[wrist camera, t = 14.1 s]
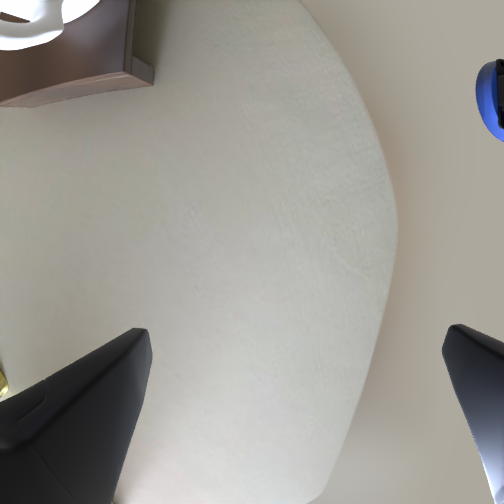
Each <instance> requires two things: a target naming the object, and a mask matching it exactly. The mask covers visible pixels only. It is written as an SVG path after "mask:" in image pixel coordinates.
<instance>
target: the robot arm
mask: <svg viewBox="0 0 504 504" xmlns="http://www.w3.org/2000/svg"><path fill="white" fill-rule="evenodd" d="M500 63H501V65H500ZM496 76H497V97H498V126H499V128H500V129H503V130H504V60H502V59H497V60H496ZM502 122H503V124H502ZM442 355H443V358H444V361H445V364H446V366H447V369H448V372H449V375H450V378H451V381H452V385H453V388H454V390H455V393H456V395H457V398H458V400H459V403H460V405H461V408H462V410H463V412H464V415H465V417H466V420H467V422H468V425H469V427H470V430H471V433H472V435H473V438H474V441H475V443H476V446H477V449H478V452H479V454H480V457H481V460H482V463H483V466H484V469H485V472H486V475H487V478H488V481H489V485H490V488H491V491H492V495H493V497H494V502H495V504H504V343H503V342H501V341H499V340H497V339H494V338H492V337H490V336H488V335H485V334H483V333H481V332H479V331H476V330H474V329H471V328H470V327H467V326H465V325H463V324H456V325H451V326H450V327H449V329H448V332H447V335H446V338H445V340H444V343H443V346H442ZM151 363H152V348H151V343H150V337H149V333H148V330H147V329H143V328H132V329H130V330H129V331H127V332H125V333H123V334H122V335H120V336H118V337H117V338H115V339H113V340H111V341H110V342H108V343H106V344H105V345H103V346H101V347H99V348H98V349H96V350H94V351H92V352H91V353H89V354H87V355H85V356H84V357H82V358H80V359H79V360H77V361H75V362H73V363H72V364H70V365H68V366H66V367H65V368H63V369H61V370H59V371H58V372H56V373H54V374H52V375H51V376H49V377H47V378H46V379H45V380H42V381H40V382H39V383H37V384H35V385H33V386H31V387H30V388H28V389H26V390H24V391H22V392H20V393H18V394H16V395H14V396H12V397H10V398H8V399H6V400H4V401H2V402H0V504H112V500H113V497H114V493H115V490H116V486H117V483H118V480H119V476H120V473H121V470H122V467H123V463H124V460H125V457H126V454H127V451H128V448H129V444H130V441H131V438H132V435H133V432H134V429H135V426H136V423H137V420H138V417H139V414H140V411H141V408H142V405H143V401H144V396H145V391H146V386H147V382H148V377H149V372H150V368H151Z"/></svg>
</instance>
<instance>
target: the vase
mask: <svg viewBox="0 0 504 504" xmlns="http://www.w3.org/2000/svg"><path fill="white" fill-rule="evenodd" d="M7 390H8V385H7V381H6V379H5V377H4V375H3V373H2V372H1V370H0V398H1V397H2V396H3V395H4V394H5V393H6V392H7Z"/></svg>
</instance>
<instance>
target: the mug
mask: <svg viewBox="0 0 504 504" xmlns="http://www.w3.org/2000/svg"><path fill="white" fill-rule="evenodd" d="M99 1H100V0H0V11H2V12H5V13H8V14H11V15H14V16H17V17H21V18H24V19H27V20H30V22H29V23H12V22H7V21H3V20H0V49H1V50H16V49H22V48H26V47H30V46H34V45H37V44H41V43H45V42H48V41H50V40H52V39H53V38H55V37H56V36H58V35H59V34H60V33H62V31H63V29H64V23H67V22H69V21H72V20H74V19H76V18H78V17H79V16H81V15H83V14H84V13H86V12H87V11H88V10H90V9H91V8H92V7H93V6H95V5H96V4H97V3H98V2H99Z"/></svg>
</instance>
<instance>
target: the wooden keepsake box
mask: <svg viewBox="0 0 504 504" xmlns="http://www.w3.org/2000/svg"><path fill="white" fill-rule="evenodd" d="M136 2H137V0H100V1H99V2H98V3H97V4H96V5H95V6H93V7H92V8H91V9H90V10H88V11H87V12H86V13H84V14H83V15H81V16H79V17H78V18H76V19H74V20H72V21H69V22H67V23H64V29H63V31H62V33H60V34H59V35H58V36H56V37H55V38H53V39H52V40H50V41H48V42H45V43H41V44H37V45H34V46H30V47H26V48H22V49H16V50H1V49H0V107H26V108H33V107H37V106H41V105H45V104H49V103H53V102H57V101H62V100H66V99H71V98H76V97H81V96H86V95H91V94H97V93H103V92H109V91H115V90H122V89H130V88H137V87H146V86H153V85H154V68H152V67H151V66H149V65H147V64H146V63H144V62H143V61H141V60H139V59H138V58H136V57H135V56H133V55H132V44H133V31H134V21H135V11H136ZM0 20H3V21H7V22H12V23H29V22H30V20H27V19H24V18H21V17H17V16H14V15H11V14H8V13H5V12H2V11H1V13H0Z"/></svg>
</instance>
